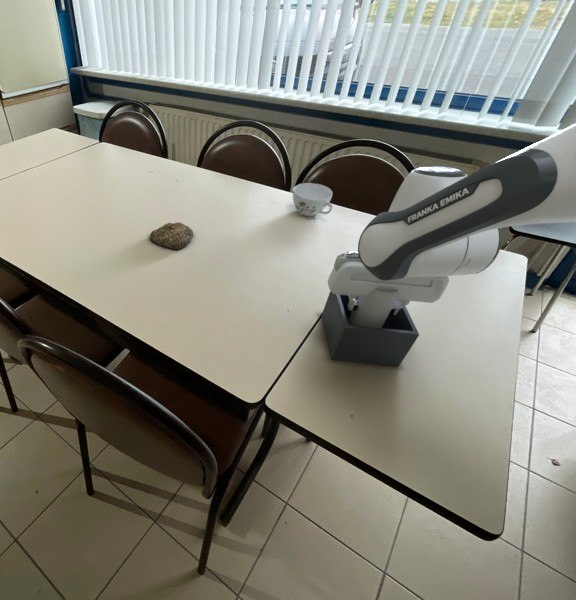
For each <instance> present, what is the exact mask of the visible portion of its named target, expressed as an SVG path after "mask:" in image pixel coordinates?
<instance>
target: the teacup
mask: <svg viewBox="0 0 576 600" xmlns="http://www.w3.org/2000/svg"><path fill="white" fill-rule="evenodd" d="M332 197H333V190H332V189H331V188H330V187H328V186H326V185H323V184H321V183H315V182H313V183H312V182H302V183H299V184H297V185H295V186H293V189H292V200H293V204H294V205H293V206H294V207H295V209H296V210H297V211H298V213H299V214H300V215H302V216H306V217H313V216H316V215H317V214H320V215H328V214H330V213H331V212H332V210H333V204H332V203H331V202H330V201H331V200H332ZM327 206H328V209H329V210H327V211H323V210H324V209H326V208H327Z"/></svg>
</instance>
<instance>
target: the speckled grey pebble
mask: <svg viewBox="0 0 576 600" xmlns="http://www.w3.org/2000/svg"><path fill="white" fill-rule="evenodd" d="M193 236H194V230H193V229H192V228H191V227H190V226H188V225H185V224H184V223H182V222H179V221H178V222H173V223H171V222H168V223H165V224H164V225H162V226H160V227H159V228H157V229H153V230H152V231H151V232H150V234H149V239H150V240H151V241H152V242H154V243H155V244H157V245H159V246H161V247H164V248H169V249H173V250H180V249H183V248H184V247H186V246H187V245H189V244H190V243H191V241H192V239H193Z"/></svg>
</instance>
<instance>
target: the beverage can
mask: <svg viewBox="0 0 576 600" xmlns="http://www.w3.org/2000/svg"><path fill="white" fill-rule="evenodd" d="M398 291H399V290H385V289H377V288H375V291H373V292H371V293H370V295H369V296H368V297H361V296H359V297H358V299H357V302H358V304H359V307H358V308H357V311H352V313H351V315H350V318H349V323H350V325H353V326H363V327H373V328H382V326H383V324H384V322H385V320H386V319H387V317H388V315H389V313H390V311H391V309H392V307H393V305H394V303H395V302H396V300H397V298H398V296H399V295H398V293H397V292H398Z"/></svg>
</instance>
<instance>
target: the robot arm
mask: <svg viewBox="0 0 576 600" xmlns="http://www.w3.org/2000/svg"><path fill="white" fill-rule="evenodd" d="M395 193H396V194H395V196H394V198H393V200H392V202H391V204H390V206H389V209H388V211H383V212H380V213H378V214H377V215H376V216H375V217H373V218H372V219H371V220H370V222H368V224H367V225H366V226H365V228H364V229H363V231H362V232H361V234H360V235H359V239H358V243H357V251H353V250H347V251H346V252H343V253H341V254H339V255H337V256H336V258H335V261H334V265H333V268H332V270H331V272H330V274H329V277H328V279H327V286H328V289H329V292H330V291H331V292H332V293H333V294H338V295H348V297H349V300H350V301H349V303H348V309H349V310H351V311H357V308H358V307H359V304H358V302H357V300H353V299H357V297H358V296H361V297H368V296H369V295H370V293H371V292H373V291H375V288H377V289H385V290H399V291H398V292H397V293H398V295H399V296H398V298H397V300H396V302H395V303H394V305H393V307H392V309H391V311H390V313H389V314H393V315H396V314H397V312H398V310H399V309H401V308H403V307H404V306H406V307H407V306H408V305H409V304H410V302H416V303H417V302H418V303H429V304H433V303H435V302H437V301H439V300H440V299H441V298H442V296H443V294H444V293H445V291H446V290H447V287H448V285H449V282H450V277H452V276H454V277H455V276H467V275H476V274H479V273H482V272H483V271H485V270H486V269H487V268H489V266H491V264H493V263H494V261H495V260H496V258H497V257H498V255H499V252H500V250H501V247H502V241H503V236H502V230H501V229H502V228H508V227H516V226H517V227H518V226H526V225H540V224H541V225H543V224H560V223H561V224H562V223H563V224H564V223H576V122H575V123H573V124H571V125H569V126H567V127H566V128H563V129H562V130H559V131H558V132H556V133H554V134H552V135H550V136H548V137H546V138H543V139H542V140H540V141H537V142H535V143H533V144H531V145H529V146H527V147H525V148H523V149H521V150H518V151H517V152H514V153H512V154H510V155H508V156H506V157H505V158H502V159H500V160H498V161H495V162H494V163H491V164H489V165H487V166H485V167H483V168H480V169H479V170H477V171H474V172H473V173H471V174H468V175H467V174H466V173H465V172H463V171H462V170H460V169H457V168H453V167H449V166H434V165H433V166H420V167H417V168H415V169H413V170H411V171H410V172H409V173H408V174H407V175H406V177H405V178H404V180H402V183H401V184H400V186H399V188H398V190H397V191H396V192H395Z"/></svg>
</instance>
